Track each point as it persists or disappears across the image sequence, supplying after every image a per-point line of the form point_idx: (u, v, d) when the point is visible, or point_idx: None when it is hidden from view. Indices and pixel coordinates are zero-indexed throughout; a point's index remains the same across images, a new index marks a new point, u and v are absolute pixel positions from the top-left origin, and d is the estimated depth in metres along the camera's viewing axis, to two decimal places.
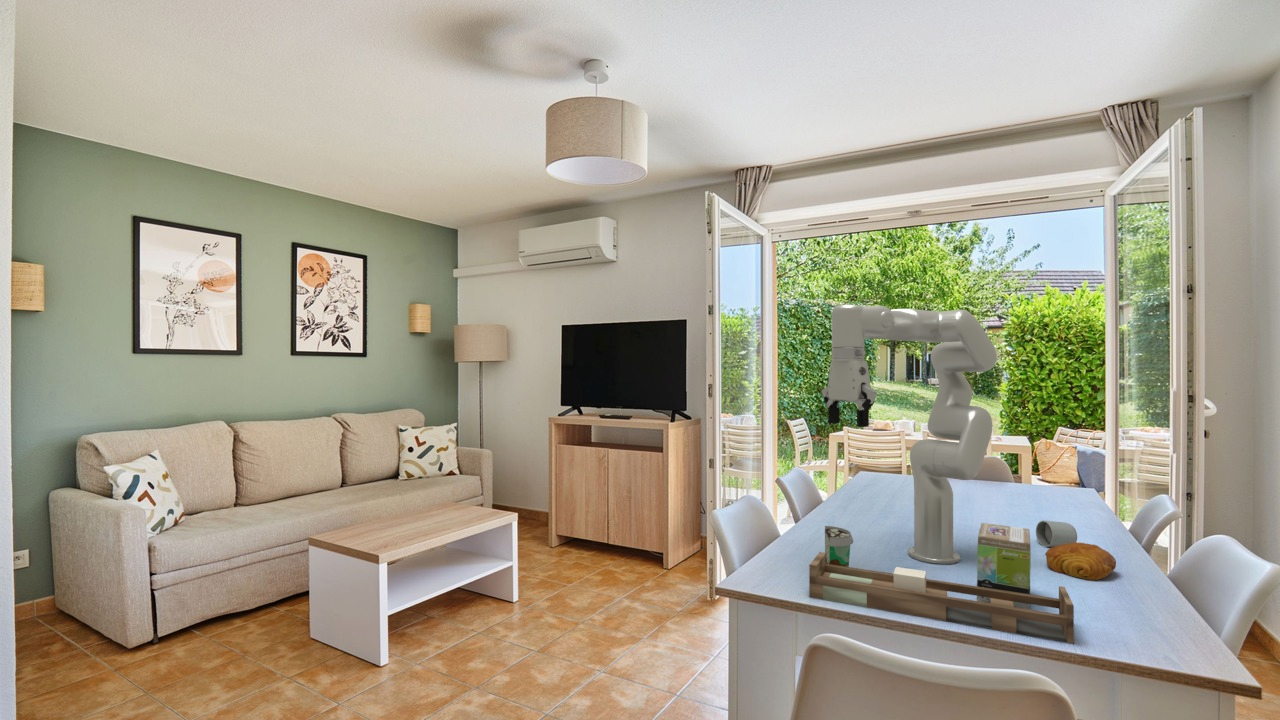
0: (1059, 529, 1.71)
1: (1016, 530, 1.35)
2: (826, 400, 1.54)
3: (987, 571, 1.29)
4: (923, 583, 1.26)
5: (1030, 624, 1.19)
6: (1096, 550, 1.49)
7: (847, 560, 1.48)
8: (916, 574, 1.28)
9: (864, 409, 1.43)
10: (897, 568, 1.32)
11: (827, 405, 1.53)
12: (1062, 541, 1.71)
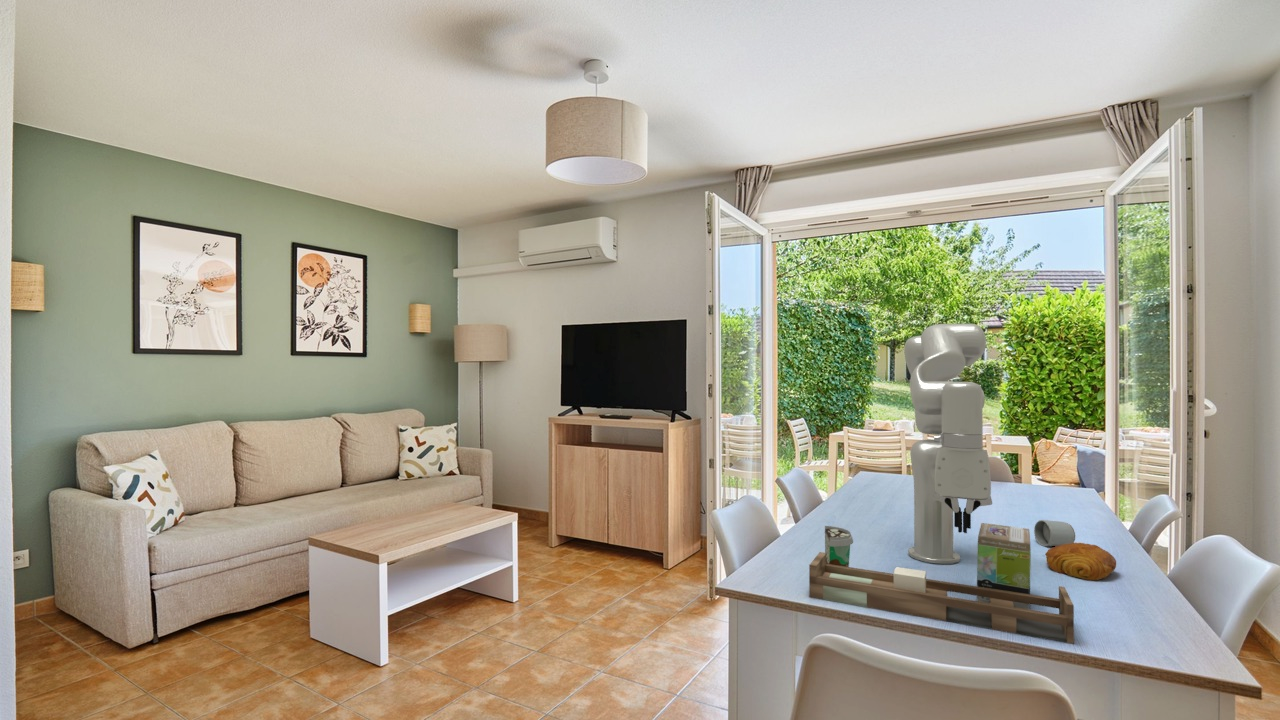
0: (1057, 528, 1.72)
1: (1016, 530, 1.35)
2: None
3: (987, 571, 1.29)
4: (923, 583, 1.26)
5: (1030, 624, 1.19)
6: (1096, 550, 1.49)
7: (847, 560, 1.48)
8: (916, 574, 1.28)
9: None
10: (897, 568, 1.32)
11: None
12: (1061, 541, 1.72)
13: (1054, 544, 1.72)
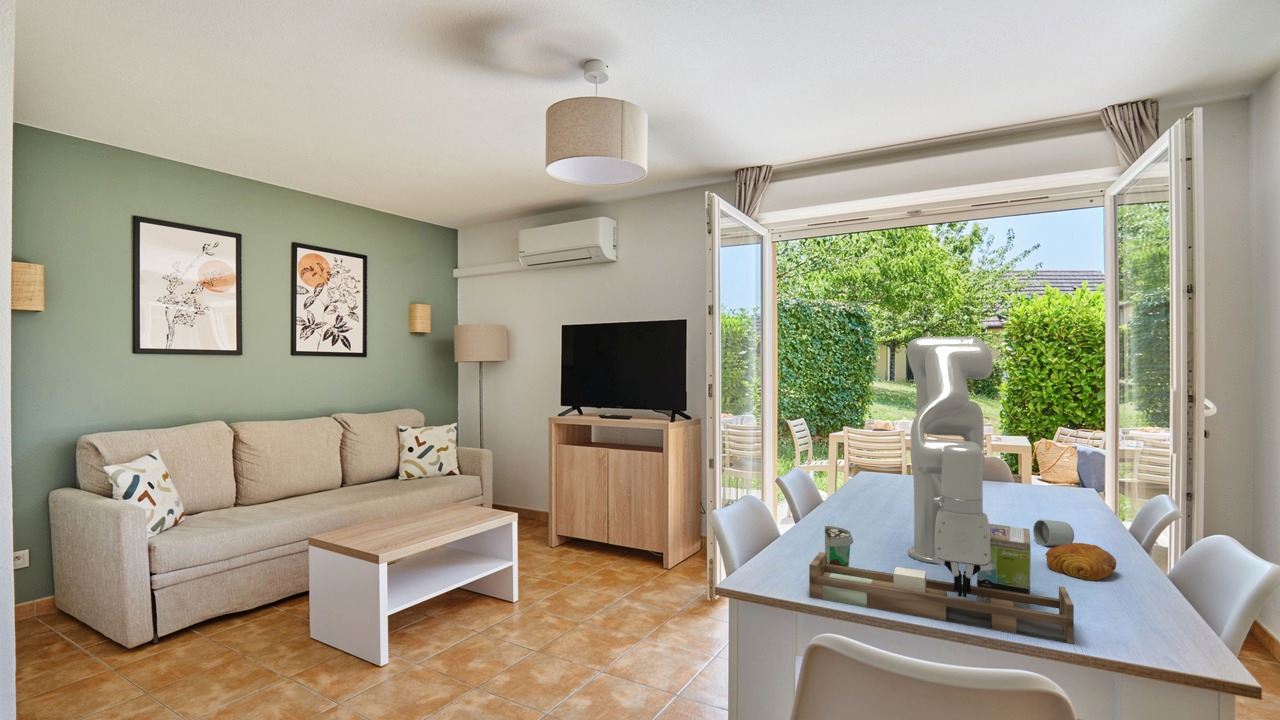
0: (1056, 528, 1.72)
1: (1016, 530, 1.35)
2: None
3: (987, 571, 1.29)
4: (923, 583, 1.26)
5: (1030, 624, 1.19)
6: (1096, 550, 1.49)
7: (847, 560, 1.48)
8: (916, 574, 1.28)
9: None
10: (897, 568, 1.32)
11: None
12: (1060, 540, 1.72)
13: (1053, 544, 1.73)
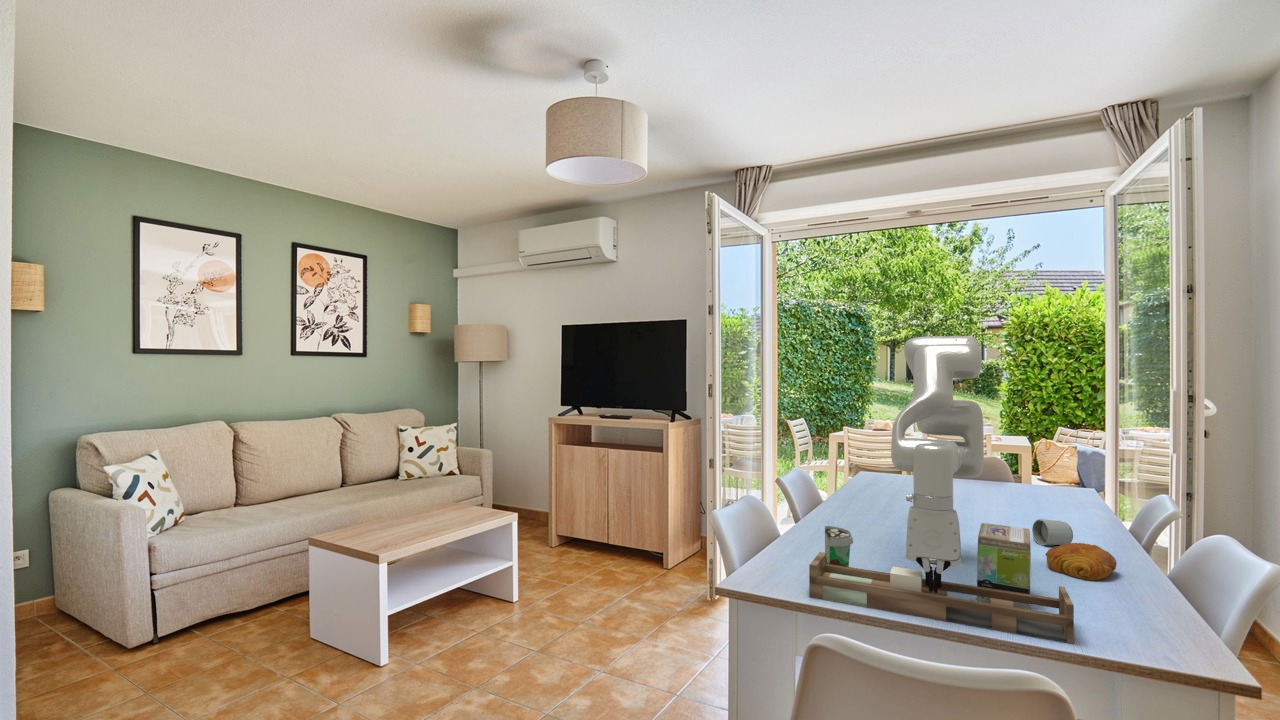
0: (1055, 528, 1.73)
1: (1016, 530, 1.35)
2: None
3: (987, 571, 1.29)
4: (920, 583, 1.26)
5: (1030, 624, 1.19)
6: (1096, 550, 1.49)
7: (847, 560, 1.48)
8: (913, 573, 1.28)
9: None
10: (893, 567, 1.32)
11: None
12: (1058, 540, 1.72)
13: (1052, 543, 1.73)
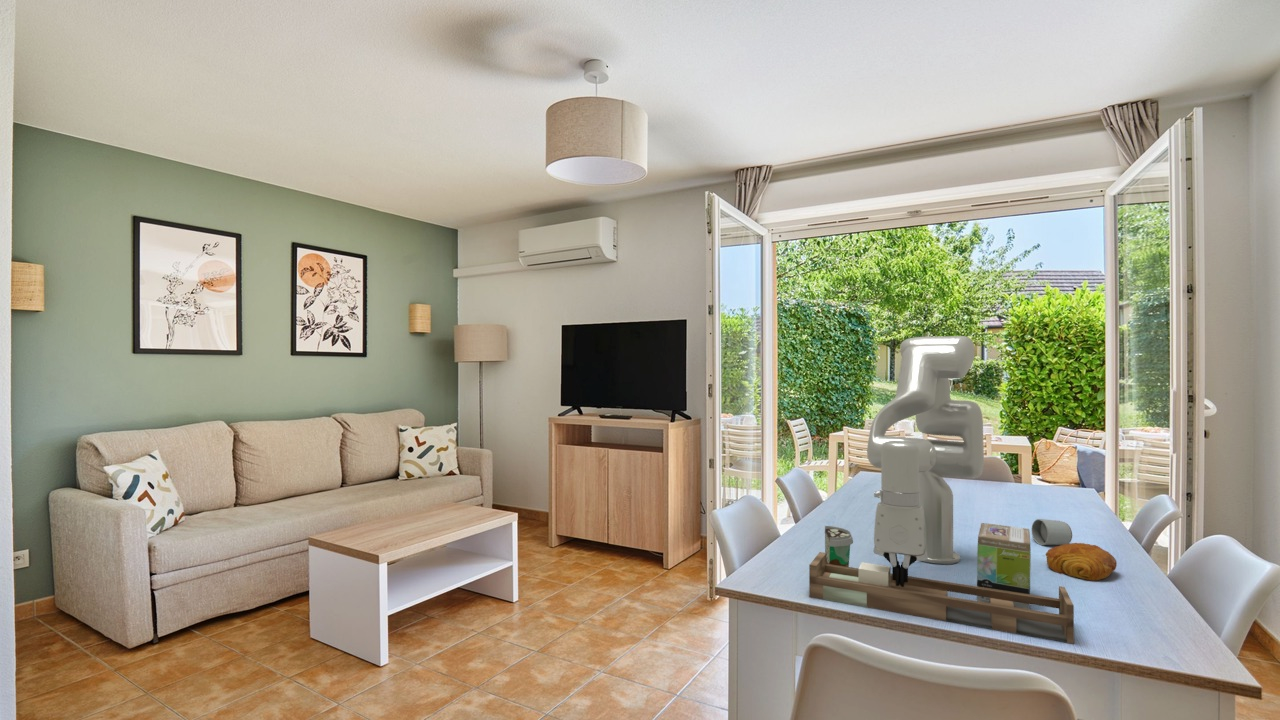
0: (1054, 527, 1.73)
1: (1016, 530, 1.35)
2: None
3: (987, 571, 1.29)
4: (887, 578, 1.29)
5: (1030, 624, 1.19)
6: (1096, 550, 1.49)
7: (847, 560, 1.48)
8: (881, 569, 1.31)
9: None
10: (863, 563, 1.35)
11: None
12: (1058, 540, 1.73)
13: (1051, 543, 1.73)
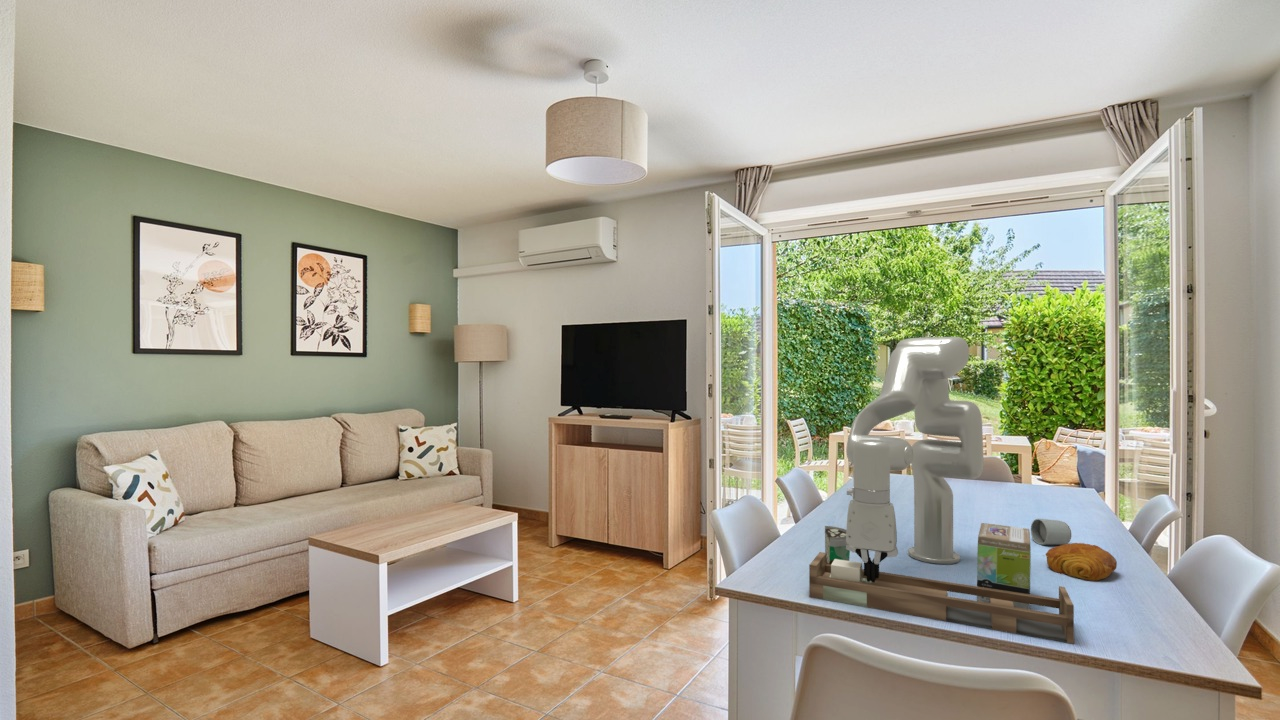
0: (1053, 527, 1.74)
1: (1016, 530, 1.35)
2: None
3: (987, 571, 1.29)
4: (858, 574, 1.31)
5: (1030, 624, 1.19)
6: (1096, 550, 1.49)
7: (847, 560, 1.48)
8: (852, 565, 1.34)
9: None
10: (835, 560, 1.37)
11: None
12: (1057, 539, 1.73)
13: (1050, 542, 1.74)
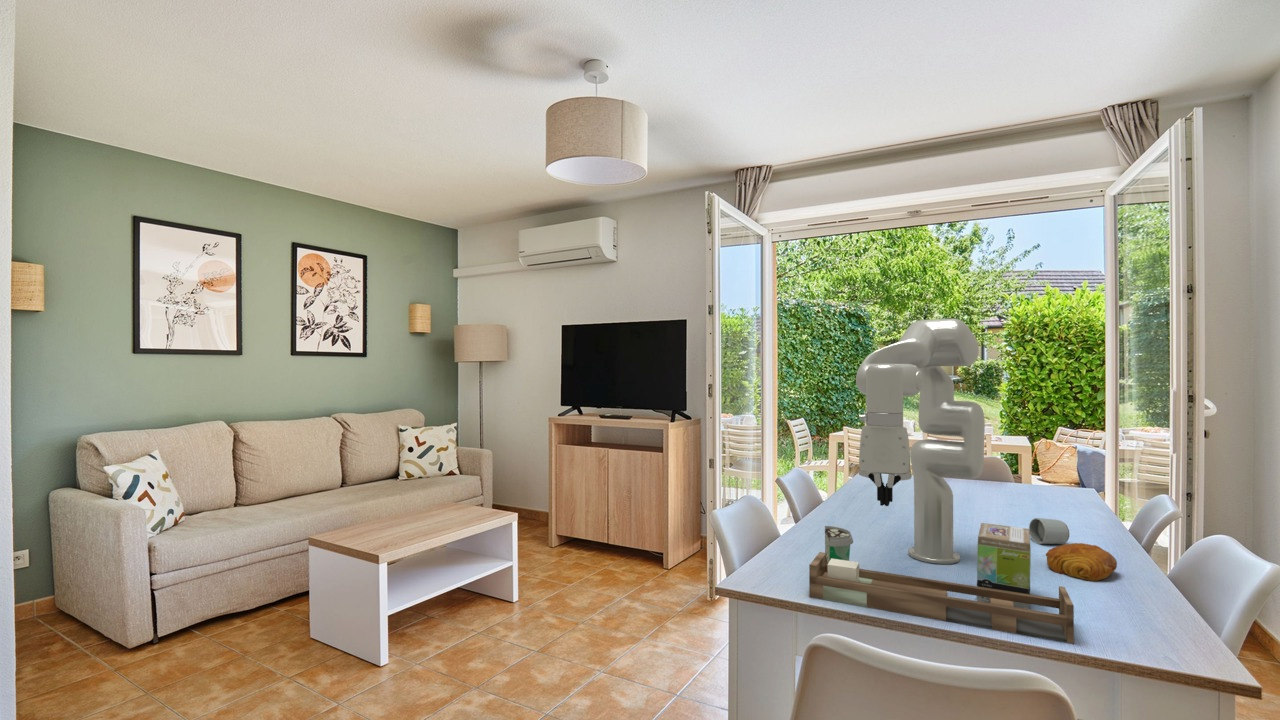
0: (1051, 526, 1.74)
1: (1016, 530, 1.35)
2: None
3: (987, 571, 1.29)
4: (854, 573, 1.32)
5: (1030, 624, 1.19)
6: (1097, 551, 1.48)
7: (847, 560, 1.48)
8: (849, 565, 1.34)
9: None
10: (832, 559, 1.38)
11: None
12: (1055, 539, 1.74)
13: (1048, 542, 1.75)
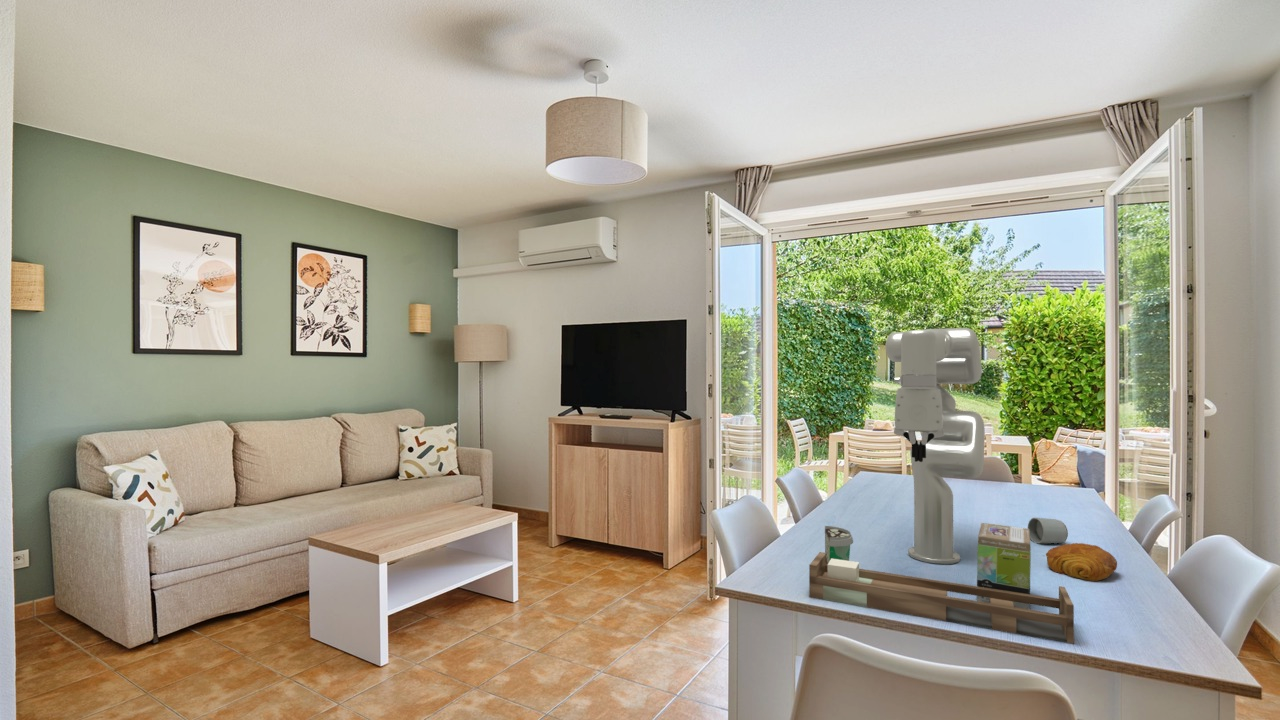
0: (1050, 526, 1.75)
1: (1016, 530, 1.35)
2: None
3: (987, 571, 1.29)
4: (854, 573, 1.32)
5: (1030, 624, 1.19)
6: (1097, 551, 1.48)
7: (847, 560, 1.48)
8: (849, 565, 1.34)
9: None
10: (832, 559, 1.38)
11: None
12: (1053, 538, 1.74)
13: (1047, 541, 1.75)
